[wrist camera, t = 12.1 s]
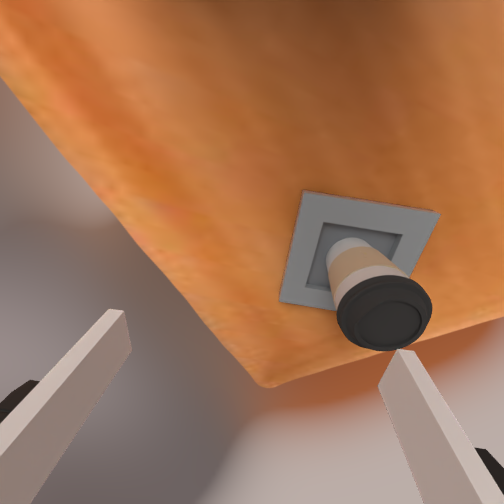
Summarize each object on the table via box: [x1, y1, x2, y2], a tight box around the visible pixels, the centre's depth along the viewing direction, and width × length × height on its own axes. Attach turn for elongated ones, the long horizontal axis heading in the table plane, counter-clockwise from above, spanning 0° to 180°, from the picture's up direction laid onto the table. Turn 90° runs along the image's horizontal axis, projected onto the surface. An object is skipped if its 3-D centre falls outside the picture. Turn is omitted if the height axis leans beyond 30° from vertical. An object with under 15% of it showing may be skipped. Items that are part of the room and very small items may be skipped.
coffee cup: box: [326, 238, 432, 351], centre depth 30 cm, size 9×9×15 cm
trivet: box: [279, 190, 441, 311], centre depth 36 cm, size 18×18×2 cm
